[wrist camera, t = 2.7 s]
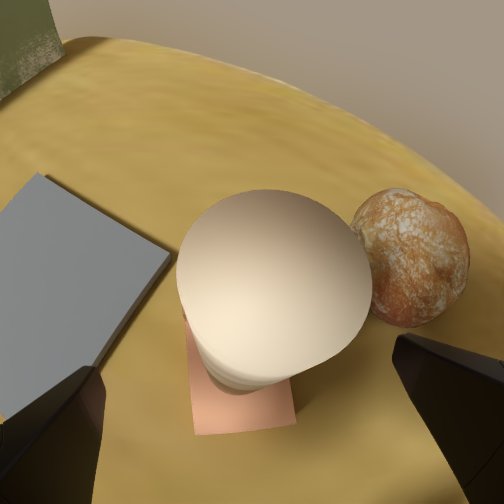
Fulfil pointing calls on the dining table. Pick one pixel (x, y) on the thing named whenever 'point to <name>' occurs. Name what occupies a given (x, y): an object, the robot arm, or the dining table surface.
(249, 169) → the dining table surface
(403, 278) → the bread roll
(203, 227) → the cylinder on pink base
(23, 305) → the mat
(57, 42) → the grocery bag
